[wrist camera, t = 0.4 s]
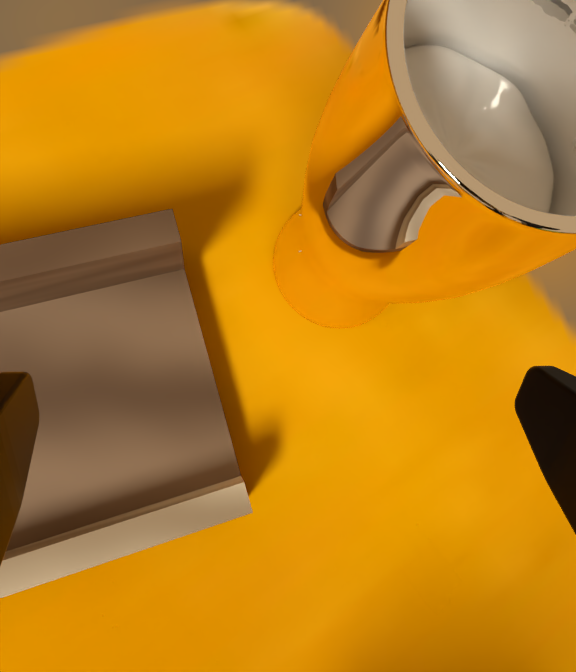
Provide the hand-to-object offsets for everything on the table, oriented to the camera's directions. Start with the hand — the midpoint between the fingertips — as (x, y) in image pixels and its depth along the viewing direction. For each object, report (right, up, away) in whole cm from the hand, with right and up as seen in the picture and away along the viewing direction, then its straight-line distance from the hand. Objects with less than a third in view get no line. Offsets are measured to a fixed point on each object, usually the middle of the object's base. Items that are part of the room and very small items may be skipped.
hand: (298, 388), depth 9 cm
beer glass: (+2, +4, +15) cm, 16 cm away
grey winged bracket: (-9, -2, +12) cm, 15 cm away
